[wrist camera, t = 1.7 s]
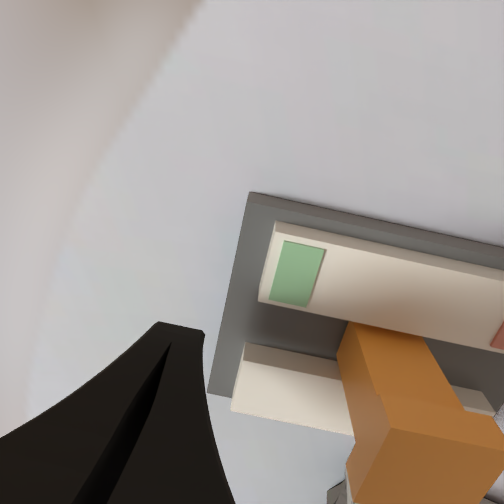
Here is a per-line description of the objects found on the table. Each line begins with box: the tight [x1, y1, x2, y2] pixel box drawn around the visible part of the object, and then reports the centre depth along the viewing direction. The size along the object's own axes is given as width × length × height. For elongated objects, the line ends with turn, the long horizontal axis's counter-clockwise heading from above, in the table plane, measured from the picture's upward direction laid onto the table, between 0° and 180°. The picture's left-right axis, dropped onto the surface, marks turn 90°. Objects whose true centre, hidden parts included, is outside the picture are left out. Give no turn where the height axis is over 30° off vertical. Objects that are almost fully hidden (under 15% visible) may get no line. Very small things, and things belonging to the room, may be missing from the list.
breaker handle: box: [336, 321, 504, 504], centre depth 11 cm, size 3×3×5 cm
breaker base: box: [207, 192, 504, 436], centre depth 13 cm, size 8×11×2 cm
